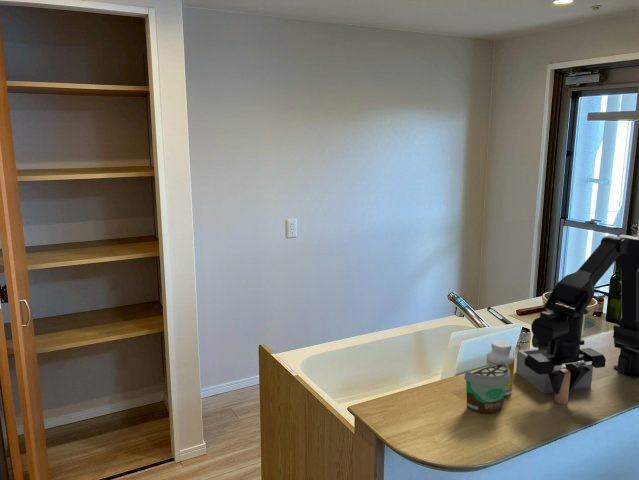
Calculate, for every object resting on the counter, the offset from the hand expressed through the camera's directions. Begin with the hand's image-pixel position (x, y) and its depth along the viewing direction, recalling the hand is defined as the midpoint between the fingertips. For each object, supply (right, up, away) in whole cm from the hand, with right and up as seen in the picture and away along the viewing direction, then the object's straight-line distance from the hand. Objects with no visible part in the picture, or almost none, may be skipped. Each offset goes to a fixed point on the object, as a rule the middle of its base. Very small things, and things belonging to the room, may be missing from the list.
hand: (561, 392), depth 127 cm
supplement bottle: (-14, -1, +6) cm, 15 cm away
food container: (-19, -3, -3) cm, 19 cm away
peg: (0, -2, 0) cm, 2 cm away
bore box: (+3, 0, +12) cm, 12 cm away
